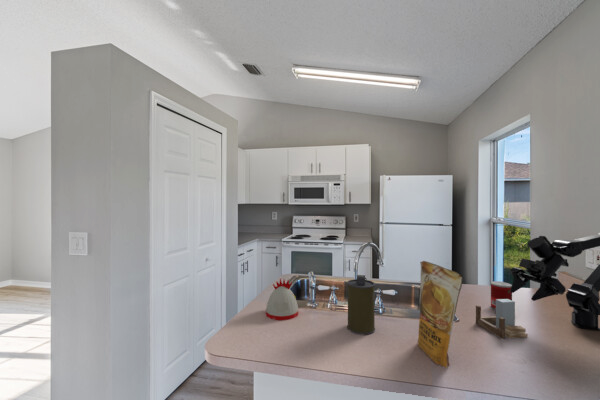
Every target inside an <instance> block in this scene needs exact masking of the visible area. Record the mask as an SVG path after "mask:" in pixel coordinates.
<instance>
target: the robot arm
mask: <svg viewBox="0 0 600 400" xmlns="http://www.w3.org/2000/svg"><path fill="white" fill-rule="evenodd" d="M526 245H527V247H528V248H529V250H531V251H532V253H534V254H535V256H536V257H538V258H539V259H541V260H539V259H538V260H537V259H536V260H531V259H526V258H521V260H520V262H519V264H518V266H519V267H521V268H519V267H512V268H511V269H510V270H509V272H510V274H511V275H512V278H513V279H512V284H511V285H512V287H511V290H510V291H511V292H512V294H513V293H515V292H517V291H518V290H520V289H521V288H523V287H524V286H526V285H527V283H528V282H529V281H532V282H534V283H538V284H539V285H540V286H539V287H538V289H537V290H536V291H535V292H534V294H533V295H532V296H531V301H533V302H535V301H538V300H541V299H544V298H548V297H551V296H552V297H553V296H558V295H560V296H561V295H564V293H565V292H566V291H567V292H566V294H565V297H566V298H565V299H566V301H567V304H568V307H570V308H573V311H571V321H570V322H571V323H572V324H574V325H575V326H576V327H578V329H579V328H580V329H585V330H594V331H600V327H599V316H600V302H599V301H600V263H599V264H598V265H597V266H596V267H595V269H594V270H593V271H592V272H591V273H590V275H589V276H588V277H586V279H585V280H584V282H582V283H580V284H579V283H576V282H573V283H572V285H571V286H570V287H569V288H568V289H566V286H565V285H564V284H563V282H561V281H560V280H559V278H556V277H557V275H558V274H557V271H558V270H559V269H560V268H561V267H566V268H567V267H568V268H569V263H568V259H567V258H564V257H568V258H574V257H577V256H579V255H582V253H583V251H587V250H591V249H594V248H598V247H600V232H598V233H596V234H592V235H587V236H584V237H580V238H575V239H555V240H553V241H552V242H550V240H549V239H548V238H547V237H546V235H539V236H538V237H535V238H533V239H531V240H529V241H528V242H527V244H526ZM523 268H524V269H525V271H524V269H523ZM554 277H555V278H554Z"/></svg>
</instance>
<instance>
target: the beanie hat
mask: <svg viewBox="0 0 600 400" xmlns="http://www.w3.org/2000/svg"><path fill="white" fill-rule="evenodd" d="M282 281H283V282H282ZM286 281H287V282H286ZM292 283H293V281H291V282H290V281H289V278H288V279H287V280H285V279H283V280H282V278H280V279H279V282H278V281H276V285H275V284H274V283H273V284H272V286H273V288H274V289H273V291H272V292H271V293H270V295H269V297H268V301H267V303H266V308H265V315H266V317H267V318H268V319H270V320H275V321H287V320H292V319H295V318H296V317H297V316H299V306H298V302H297V299H296V298H297V297H296V295H295V294H294V292H293V291H292V290H291V289H290V288H291V286H292Z"/></svg>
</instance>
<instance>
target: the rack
mask: <svg viewBox="0 0 600 400" xmlns="http://www.w3.org/2000/svg"><path fill="white" fill-rule="evenodd" d="M475 324H477V325H478V326H480V327H482V328H483V329H484V330H487V332H488V331H489V332H490V333H492V334H493V335H495V336H496V337H499V338H500V339H502V340H503V339H505V338H506V336H505V318H503V317H499V328H498V327H496V315H494V316H493V315H492V316H491V315H490V316H489V315H488V316H482V308H481V306H480V305H475ZM494 324H495V325H494Z"/></svg>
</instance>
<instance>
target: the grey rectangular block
mask: <svg viewBox="0 0 600 400" xmlns="http://www.w3.org/2000/svg"><path fill="white" fill-rule="evenodd" d="M495 316H496V324H495V326H496V327H498V328H499V317H503V318H505V329H506V326H516V301H513V299H512V300H509V299H496V309H495Z"/></svg>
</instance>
